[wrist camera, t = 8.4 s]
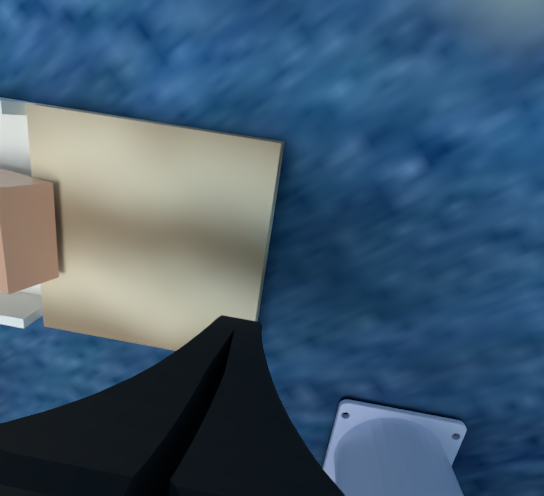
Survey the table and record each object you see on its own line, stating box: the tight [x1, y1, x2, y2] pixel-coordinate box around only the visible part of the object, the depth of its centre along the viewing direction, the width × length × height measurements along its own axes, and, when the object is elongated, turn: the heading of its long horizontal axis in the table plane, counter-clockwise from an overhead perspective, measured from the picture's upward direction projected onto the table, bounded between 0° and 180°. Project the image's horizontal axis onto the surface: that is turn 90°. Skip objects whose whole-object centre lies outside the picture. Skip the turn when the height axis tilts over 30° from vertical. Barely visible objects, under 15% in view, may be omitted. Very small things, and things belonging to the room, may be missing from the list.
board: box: [26, 104, 285, 351], centre depth 19 cm, size 12×12×2 cm
